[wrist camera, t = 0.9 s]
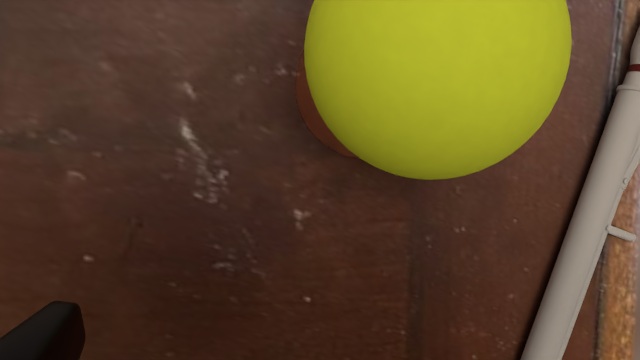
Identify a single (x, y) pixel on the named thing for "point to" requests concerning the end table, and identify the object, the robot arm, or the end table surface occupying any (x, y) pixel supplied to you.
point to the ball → (436, 78)
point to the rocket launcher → (591, 220)
